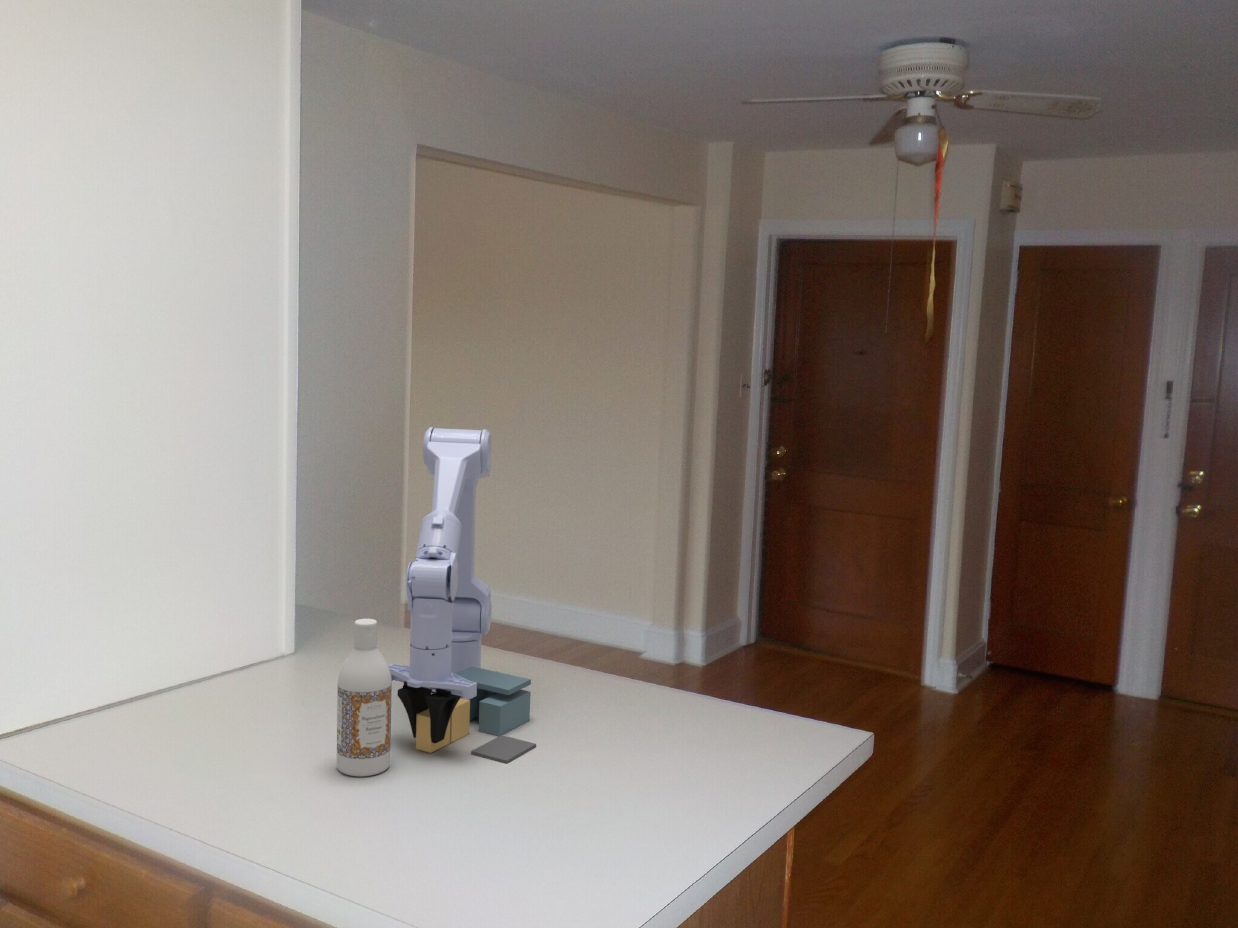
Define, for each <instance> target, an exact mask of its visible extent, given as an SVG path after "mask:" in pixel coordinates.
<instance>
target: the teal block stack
mask: <svg viewBox="0 0 1238 928" xmlns="http://www.w3.org/2000/svg"><path fill="white" fill-rule="evenodd" d="M454 674H456V675H458V676H460V677H462V678H465V679H467V680H469V681H472V682H476V683H477V696H475V697H473V698H471V699H469V700H470V720H469V722H470V721H471V720H474V719H476V718H478V732H481V733H485V734H489V735H493V736H496V737H498V736H500V735H503V736H504V735H505V734H507V733H508V732H510V731H512V730H514V729H516V728H518V727H519V726H522V725H523V724H525V723H528V722H529V721H530V718H531V717H530V716H531V714H530V713H531V691H528V690H525V689H524V688H526V687H529V686H530V685H531V682H532V679H531V678H526V677H521V676H516V675H512V674H509V673H505V672H504V673H503V672H499V671H495V670H489V669H485V668H482V667H481V668H477V667H472V666H471V667H469V668H466V669H464V670H461V671H459V672H457V673H454ZM461 698H462V696H461ZM462 699H463V698H462Z"/></svg>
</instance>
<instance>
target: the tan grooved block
mask: <svg viewBox="0 0 1238 928" xmlns="http://www.w3.org/2000/svg"><path fill="white" fill-rule="evenodd" d="M469 720H470V700H466V699H462V698H460V699H459V701H458V703H457V704H456V706H455V708H454V710H453V712H452V715H451V717H450V720H449V723H448V726H447V729H446V733H445V737H444V740H442V741H440V742H438V743H432V741H431V735H430V726H431V723H430V714H429V709H427V710H425V711H423V712H421V713H418V714H417V718H416V738H415V749H416V750H419V751H423V752H425V753H429V754H431V753H433V752H436V751H437V750H439V749H441V748H443V747H445V746H447V745H449V744H452V743H453V742H455V741H457V740H459V739H461V738H464V737H465V736H467V735H469V734H470V721H471V720H470V721H469Z"/></svg>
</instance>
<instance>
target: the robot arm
mask: <svg viewBox="0 0 1238 928" xmlns="http://www.w3.org/2000/svg"><path fill="white" fill-rule="evenodd" d="M422 444H423V445H422V457H423V462H424V464H425V465H426V469H427V472H428V473H429V474H431V475H433V476H434V478H433V479H434V480H433V488H432V489H433V491H432V505H431V512H430V513H428V514H426V515H425V516H424V517H423V518H422V520H421V525H420V528H419V529H420V530H419V535H418V540H417V545H416V550H415V551H416V552H415V555H414V561H410V562H409V563H408V566H407V571H406V578H405V588H406V595H407V596H406V597H407V612H408V613H410V623H409V624H410V625H409V626H410V629H409V630H410V631H409V665H404V664H397V663H392V664H389V665H388V667H389V670H390V674H391V682H392V681H396V682H400V683H403V685H402V688H399V689H398V690H397V697H398V698H399V700H400V701H401V703H402V705H403V708H404V709H405V711H406V714H407V716H408V720H409V721H408V722H409V726H410V728H411V732H412V737H413V738H414V739H416V718H417V714H418V713H421V712H423V711H425V710H427V709H429V714H430V723H431V726H430V735H431V741H432V743H438V742H440V741H442V740H444V737H445V733H446V729H447V726H448V723H449V720H450V717H451V715H452V712H453V710H454V708H455V706H456V704H457V703H458V701H459V699H460V698H461V696H462V698H463V699H466V700H469V699H471V698H473V697H475V696H477V683H476V682H472V681H469V680H467V679H465V678H462V677H460V676H458V675H456V674H454V673H457V672H459V671H461V670H464V669H466V668H469V667H471V666H472V667H477V668H481V669H482V667H481V662H482V637H483V636H486V635H487V634H488V633H489V632H490V629H491V623H492V607H493V606H492V599H491V597H492V596H491V589H490V587H489V586H488V585H487V584H486V583H485V582H483V581H482V580H481V579H480V578H478V577H477V576H476V575H475V544H476V543H475V541H476V540H475V539H476V537H475V536H476V534H475V533H476V493H477V486H478V483H479V480H480V479H482V478H486V477H489V476H490V472H491V469H492V435H491V433H490V431H488V429H487V428H486V429H484V428H483V429H482V430H479V429H465V428H464V429H463V428H460V429H459V428H443V427H442V428H438V427H437V428H436V427H434V426H429V428H428V429H427V430H426V431H425V432H424V437H423V443H422ZM432 692H433V693H432Z"/></svg>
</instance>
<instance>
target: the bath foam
mask: <svg viewBox="0 0 1238 928" xmlns="http://www.w3.org/2000/svg"><path fill="white" fill-rule="evenodd" d="M353 630H354V631H353V635H354V636H353V646H354V647H353V649H352V650H351V651H350V653H349V654H348V656H347V658H346V659H345V661H344V662H343V664H342V666H341V668H340V671H339V675H338V680H337V701H336V702H337V705H336V707H337V709H336V710H337V711H336V712H337V713H336V767H337V769H338V771H339V772H340V773H341V774H344V775H347V776H351V777H369V776H375V775H379V774H381V773H383V772H385V771H386V770H387V769H388V768H389V767H390V763H391V743H392V742H391V740H392V738H391V736H392V735H391V733H392V689H393V688H392V686H393V685H392V684H393V682H392V681H391V674H390V670H389V667H388V666H389V665H388V663H387V661H386V659H385V658H384V656H383V655H382V653H381V651H379V649H378V647H377V643H378V621H377V620H376V619H374V618H373V619H372V618H360V619H356V620H354V625H353Z"/></svg>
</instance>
